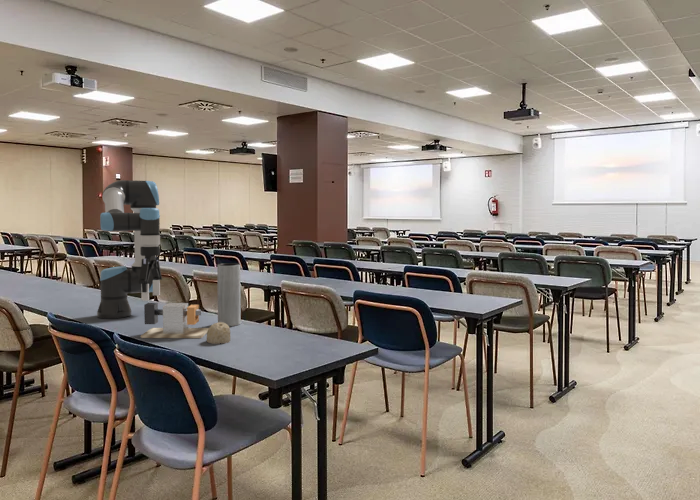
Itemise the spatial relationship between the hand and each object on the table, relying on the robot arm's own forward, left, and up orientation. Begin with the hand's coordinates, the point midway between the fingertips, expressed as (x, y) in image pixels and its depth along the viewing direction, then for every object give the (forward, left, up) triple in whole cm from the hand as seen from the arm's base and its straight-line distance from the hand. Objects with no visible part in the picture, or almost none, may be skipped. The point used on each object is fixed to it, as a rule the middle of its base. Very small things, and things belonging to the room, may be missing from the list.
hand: (151, 297), depth 224 cm
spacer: (0, +17, -7) cm, 18 cm away
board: (0, +10, -15) cm, 18 cm away
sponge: (+12, +30, -15) cm, 36 cm away
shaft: (0, +9, -10) cm, 14 cm away
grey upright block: (0, +10, -15) cm, 18 cm away
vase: (-20, +28, -15) cm, 38 cm away
